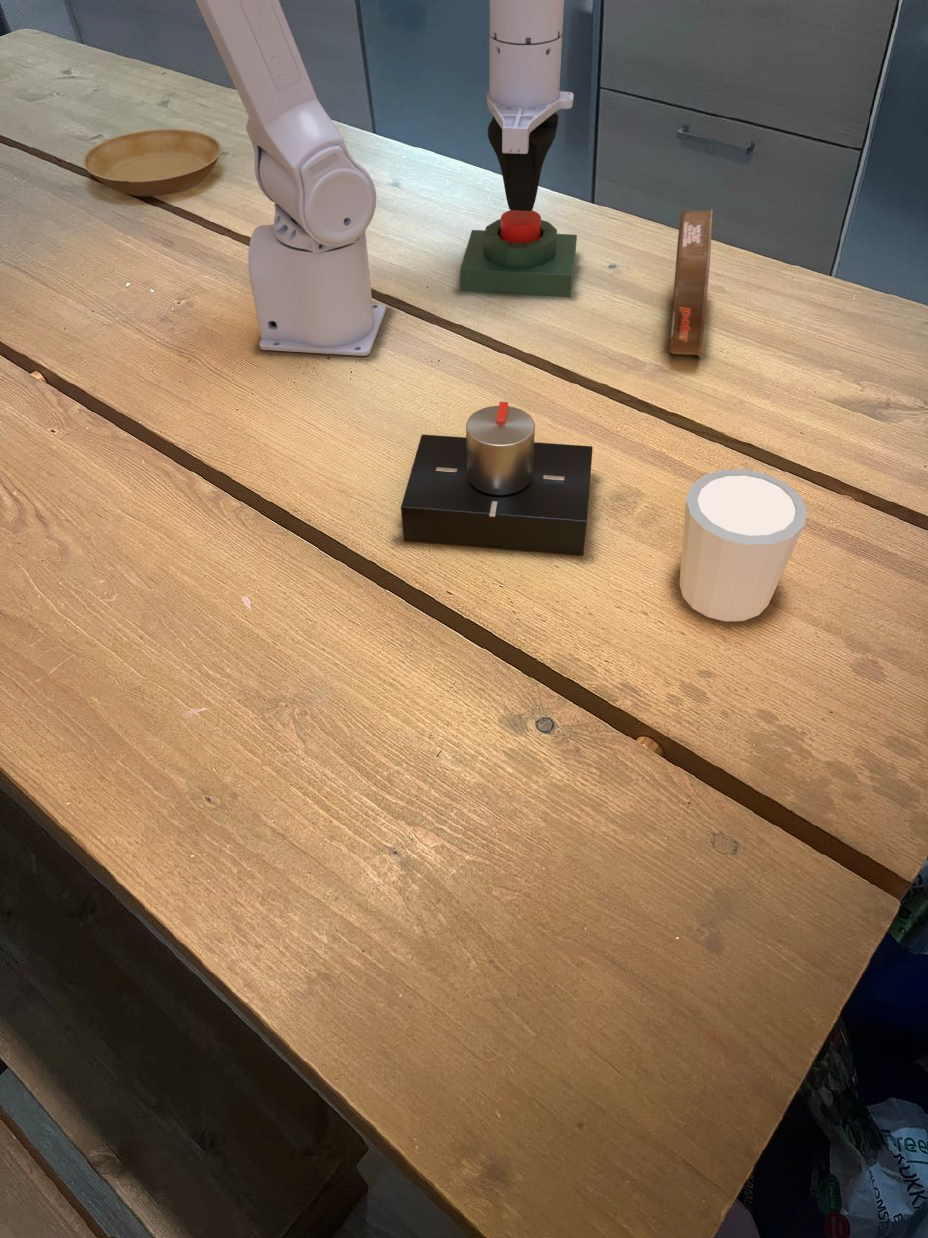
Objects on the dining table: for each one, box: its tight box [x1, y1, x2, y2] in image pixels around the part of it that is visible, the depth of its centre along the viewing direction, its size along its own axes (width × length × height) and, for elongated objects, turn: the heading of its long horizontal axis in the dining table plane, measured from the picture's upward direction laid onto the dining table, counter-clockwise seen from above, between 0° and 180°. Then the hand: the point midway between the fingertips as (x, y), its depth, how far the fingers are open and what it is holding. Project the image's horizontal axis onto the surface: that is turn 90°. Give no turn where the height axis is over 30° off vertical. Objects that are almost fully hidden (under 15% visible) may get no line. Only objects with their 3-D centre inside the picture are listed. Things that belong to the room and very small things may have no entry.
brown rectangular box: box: [668, 209, 714, 357], centre depth 79 cm, size 15×3×8 cm, turn 168°
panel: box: [400, 434, 594, 556], centre depth 65 cm, size 12×9×3 cm
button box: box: [459, 218, 578, 298], centre depth 88 cm, size 10×8×4 cm
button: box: [500, 209, 542, 243], centre depth 86 cm, size 4×4×2 cm
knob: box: [465, 401, 536, 495], centre depth 62 cm, size 4×4×4 cm
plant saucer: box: [82, 128, 222, 197], centre depth 105 cm, size 15×15×3 cm
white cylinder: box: [679, 468, 808, 622], centre depth 58 cm, size 7×7×7 cm
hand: (521, 207), depth 85 cm, fingers closed
